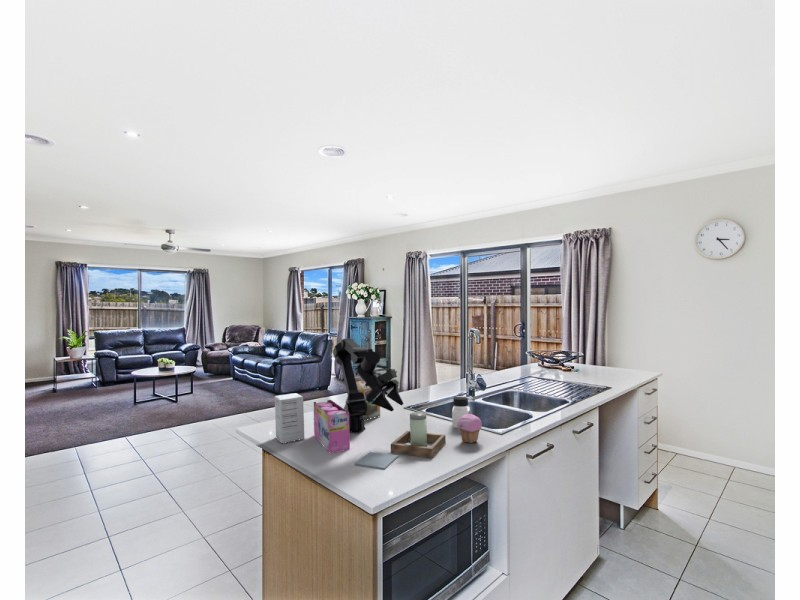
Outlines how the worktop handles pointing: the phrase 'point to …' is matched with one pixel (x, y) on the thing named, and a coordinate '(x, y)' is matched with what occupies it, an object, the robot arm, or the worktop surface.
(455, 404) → the medicine bottle
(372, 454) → the rubber mat
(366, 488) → the worktop surface
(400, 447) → the walnut frame
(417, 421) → the plastic jar
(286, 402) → the supplement box
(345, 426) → the gum box
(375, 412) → the milk carton
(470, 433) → the cupcake
